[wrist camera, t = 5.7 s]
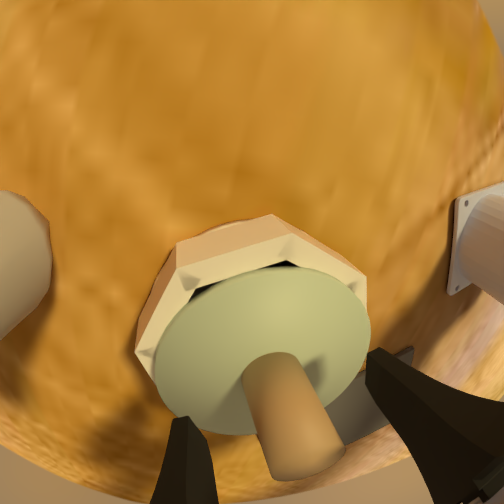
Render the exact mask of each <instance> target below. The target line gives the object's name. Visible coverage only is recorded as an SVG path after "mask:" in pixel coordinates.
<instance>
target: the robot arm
mask: <svg viewBox="0 0 504 504" xmlns="http://www.w3.org/2000/svg"><path fill="white" fill-rule="evenodd" d="M471 283H473V284H475V285H476V286H478V287H479V288H480V289H482V290H483V291H485V292H486V293H488V294H489V295H491V296H492V297H493V298H495V299H496V300H498V301H499V302H500V303H502V304H503V305H504V181H503V182H500V183H497V184H494V185H491V186H489V187H486V188H483V189H480V190H477V191H474V192H471V193H468V194H465V195H462V196H459V197H458V198H457V199H456V201H455V212H454V231H453V244H452V254H451V263H450V271H449V279H448V286H447V294H449V295H450V296H452V295H454V294H455V293H457V292H459V291H460V290H462V289H464V288H465V287H467V286H468V285H470V284H471ZM365 385H366V387H367V389H368V391H369V393H370V394H371V396H372V398H373V400H374V401H375V403H376V405H377V406H378V407H379V409H380V410H381V411H382V413H383V414H384V416H385V417H386V418H387V420H388V421H389V422H390V424H391V425H392V426H393V428H394V429H395V430H396V432H397V433H398V434H399V436H400V437H401V438H402V440H403V441H404V443H405V444H406V446H407V448H408V450H409V451H410V453H411V455H412V457H413V458H414V460H415V462H416V464H417V466H418V468H419V470H420V472H421V474H422V476H423V478H424V481H425V483H426V485H427V487H428V489H429V492H430V494H431V497H432V499H433V502H434V504H460V503H463V504H504V402H499V401H494V400H490V399H486V398H482V397H478V396H474V395H471V394H468V393H465V392H462V391H460V390H457V389H454V388H452V387H450V386H447V385H445V384H443V383H441V382H439V381H437V380H435V379H433V378H431V377H429V376H427V375H425V374H423V373H422V372H420V371H418V370H416V369H414V368H413V367H411V366H409V365H408V364H406V363H404V362H403V361H401V360H400V359H398V358H396V357H395V356H393V355H392V354H390V353H388V352H387V351H385V350H384V349H382V348H380V347H379V348H377V349H375V350H373V351H371V352H369V353H367V360H366V375H365ZM150 504H219V502H218V496H217V490H216V483H215V476H214V470H213V463H212V459H211V455H210V451H209V447H208V444H207V440H206V438H205V437H204V436H203V434H202V433H201V432H200V431H199V429H198V428H197V426H196V425H195V424H194V422H193V421H192V420H191V418H190V417H189V415H188V416H183V417H179V418H174V419H173V420H172V424H171V430H170V435H169V440H168V444H167V449H166V453H165V457H164V461H163V464H162V468H161V472H160V475H159V478H158V481H157V484H156V487H155V490H154V493H153V496H152V499H151V501H150Z"/></svg>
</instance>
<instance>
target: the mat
mask: <svg viewBox="0 0 504 504" xmlns="http://www.w3.org/2000/svg"><path fill="white" fill-rule="evenodd" d="M413 353H414V348H413V346H411V347H409V348H407V349H405V350H403V351H401V352H400V353H398V354H396V355H394V356H395V357H396V358H398V359H400V360H401V361H403V362H404V363H406V364H408V365H409V366H411V363H412V358H413ZM365 375H366V370H364V371H362V372H360V373H358V374H357V375H356V377H355V378H354V379H353V381H352V382H351V383H350V384H349V386H348V387H347V388H346V389H345V390H344V391H343V392H342V393H341V394H340V395H339V396H338V397H337V398H336V399H335V400H334V401H332V402H331V403H330V404H328V405H327V406H326V407H325V408H324V409H325V411H326V413H327V414H328V416H329V418H330V420H331V422H332V424H333V426H334V427H335V429H336V431H337V433H338V435H339V437H340V438H341V440H342V442H343V444H344V446H345V445H348V444H350V443H352V442H354V441H356V440H358V439H360V438H362V437H365V436H367V435H369V434H371V433H373V432H374V431H376V430H378V429H380V428H382V427H384V426H386V425H388V424H390V422H389V421H388V420H387V418H386V417H385V416H384V414H383V413H382V411H381V410H380V409H379V407H378V406H377V405H376V403H375V401H374V400H373V398H372V396H371V394H370V393H369V391H368V389H367V387H366V385H365Z"/></svg>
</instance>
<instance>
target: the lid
mask: <svg viewBox="0 0 504 504" xmlns="http://www.w3.org/2000/svg"><path fill="white" fill-rule="evenodd" d="M370 338H371V327H370V321H369V317H368V314H367V311H366V309H365V307H364V305H363V304H362V302H361V300H360V299H359V298H358V297H357V296H356V295H355V294H354V293H353V292H352V291H351V290H350V289H349V288H348V287H347V286H346V285H345V284H344V283H342V282H341V281H340V280H338V279H337V278H335V277H333V276H331V275H329V274H327V273H324V272H321V271H318V270H315V269H310V268H304V267H295V266H278V267H267V268H261V269H257V270H252V271H247V272H244V273H241V274H238V275H235V276H232V277H229V278H227V279H225V280H223V281H221V282H219V283H217V284H214V285H213V286H211V287H209V288H208V289H206V290H204V291H203V292H201V293H199V294H198V295H197V296H195V297H194V298H193V299H192V300H190V301H189V302H188V303H187V304H185V305H184V306H183V307H182V308H181V309H180V311H179V312H178V313H177V314H176V315H175V316H174V317H173V318H172V320H171V321H170V323H169V324H168V325H167V327H166V328H165V330H164V332H163V334H162V336H161V338H160V340H159V344H158V347H157V350H156V357H155V382H156V386H157V389H158V392H159V394H160V396H161V398H162V400H163V402H164V403H165V404H166V406H167V407H168V408H169V409H170V410H171V411H172V412H173V413H174V414H175V415H176V416H177V417H183V416H188V415H189V417H190V418H191V420H192V421H193V422H194V424H195V425H196V426H197V428H199V429H202V430H205V431H209V432H213V433H218V434H225V435H252V434H258V437H259V441H260V444H261V447H262V450H263V453H264V456H265V459H266V462H267V465H268V468H269V471H270V474H271V476H272V478H273V479H274V480H277V481H294V480H299V479H303V478H307V477H310V476H313V475H315V474H317V473H320V472H322V471H324V470H326V469H327V468H329V467H331V466H332V465H334V464H335V463H336V462H337V461H339V460H340V459H341V458H342V456H343V455H344V453H345V451H346V448H345V446H344V444H343V442H342V440H341V438H340V437H339V435H338V433H337V431H336V429H335V427H334V426H333V424H332V422H331V420H330V418H329V416H328V414H327V413H326V411H325V409H324V408H325V407H326V406H327V405H328V404H330V403H331V402H332V401H334V400H335V399H336V398H337V397H338V396H339V395H340V394H341V393H342V392H343V391H344V390H345V389H346V388H347V387H348V386H349V384H350V383H351V382H352V381H353V379H354V378H355V377H356V375H357V373H358V372H359V370H360V368H361V367H362V365H363V362H364V360H365V358H366V355H367V352H368V349H369V344H370Z"/></svg>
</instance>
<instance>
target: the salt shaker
mask: <svg viewBox="0 0 504 504" xmlns="http://www.w3.org/2000/svg"><path fill="white" fill-rule="evenodd" d="M52 260H53V256H52V250H51V243H50V232H49V221H48V220H47V219H46V218H45V217H44V216H43V215H42V214H41V213H40V212H39V211H38V210H37V209H36V208H35V207H34V206H33V205H32V204H31V203H30V202H29V201H28V200H27V199H26V198H25V197H24V196H21V195H18V194H16V193H13V192H11V191H8V190H0V340H1V339H2V338H4V337H5V336H6V335H7V334H8V333H9V332H10V331H11V330H12V329H13V328H14V327H15V326H17V325H18V324H19V323H20V322H21V321H22V320H23V319H24V318H25V317H27V316H28V315H29V314H30V313H31V312H32V311H33V310H35V309H36V308H37V306H38V305H39V303H40V302H41V300H42V299H43V297H44V296H45V294H46V293H47V291H48V289H49V286H50V284H51V271H52Z"/></svg>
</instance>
